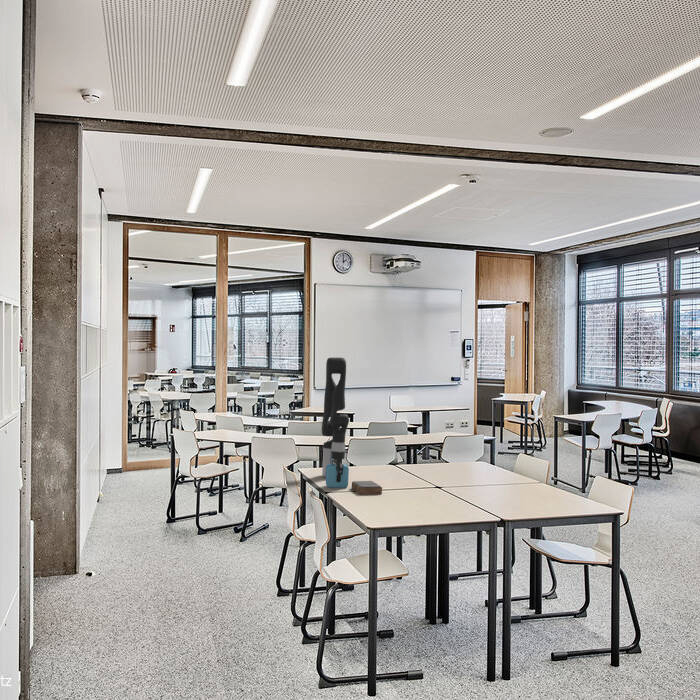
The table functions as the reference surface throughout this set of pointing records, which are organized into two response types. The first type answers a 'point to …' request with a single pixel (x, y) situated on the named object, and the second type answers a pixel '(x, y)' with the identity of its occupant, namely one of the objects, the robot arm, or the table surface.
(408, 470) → the table surface
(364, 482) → the stand
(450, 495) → the table surface
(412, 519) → the table surface
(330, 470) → the blue rectangular block
